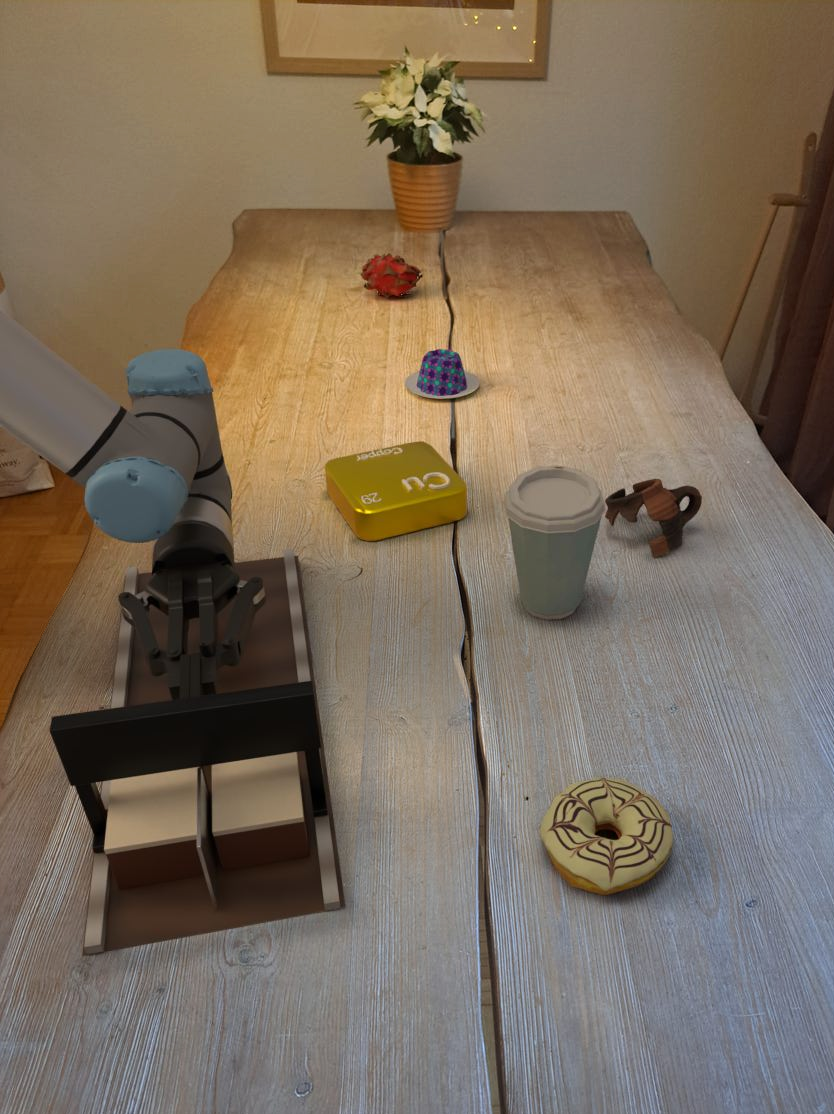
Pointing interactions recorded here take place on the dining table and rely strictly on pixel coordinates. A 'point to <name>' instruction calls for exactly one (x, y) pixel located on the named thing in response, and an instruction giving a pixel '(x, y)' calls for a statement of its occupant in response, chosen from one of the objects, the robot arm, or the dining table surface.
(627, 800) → the decorated donut
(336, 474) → the element tile
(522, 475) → the disposable coffee cup
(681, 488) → the pottery mug
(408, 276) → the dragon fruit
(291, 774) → the cake
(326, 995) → the dining table surface
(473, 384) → the pudding
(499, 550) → the dining table surface
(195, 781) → the cake
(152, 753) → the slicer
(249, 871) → the brown long flat board
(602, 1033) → the dining table surface
